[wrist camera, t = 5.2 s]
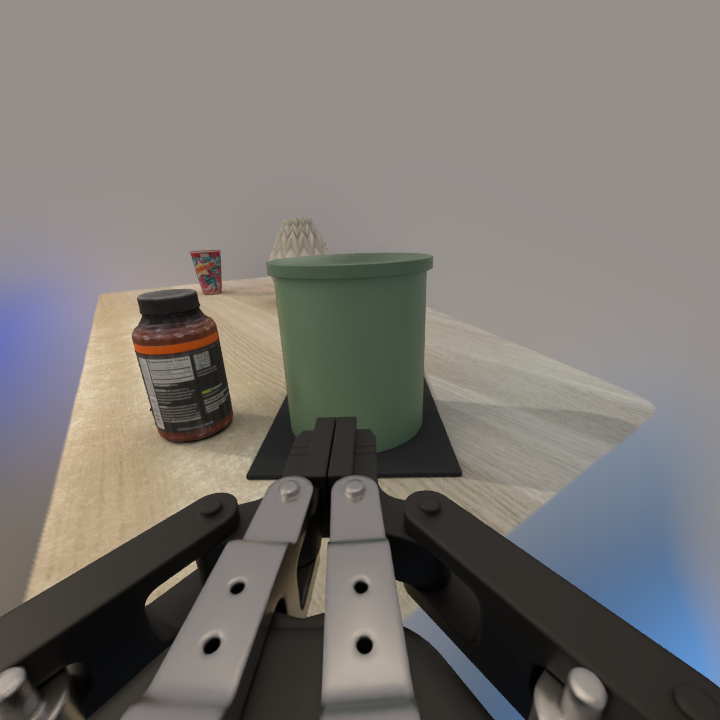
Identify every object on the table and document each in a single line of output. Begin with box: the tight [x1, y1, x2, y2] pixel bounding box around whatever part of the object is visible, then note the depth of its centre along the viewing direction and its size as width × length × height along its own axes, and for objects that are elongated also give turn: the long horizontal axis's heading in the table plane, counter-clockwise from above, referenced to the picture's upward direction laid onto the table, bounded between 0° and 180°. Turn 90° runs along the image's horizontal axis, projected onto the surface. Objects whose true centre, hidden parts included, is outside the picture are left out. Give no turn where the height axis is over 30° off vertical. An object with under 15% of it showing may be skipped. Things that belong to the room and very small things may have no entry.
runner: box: [246, 377, 462, 479], centre depth 42 cm, size 40×14×1 cm, turn 179°
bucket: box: [266, 253, 433, 453], centre depth 28 cm, size 12×12×13 cm
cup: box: [190, 250, 222, 294], centre depth 101 cm, size 9×8×12 cm
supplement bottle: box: [132, 289, 233, 442], centre depth 28 cm, size 6×6×11 cm
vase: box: [266, 218, 331, 281], centre depth 82 cm, size 16×16×18 cm
